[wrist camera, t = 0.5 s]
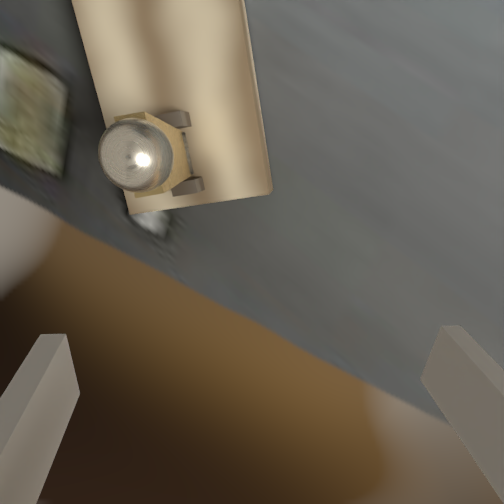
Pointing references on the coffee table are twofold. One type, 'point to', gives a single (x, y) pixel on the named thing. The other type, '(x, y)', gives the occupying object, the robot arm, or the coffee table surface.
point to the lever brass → (144, 154)
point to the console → (183, 88)
